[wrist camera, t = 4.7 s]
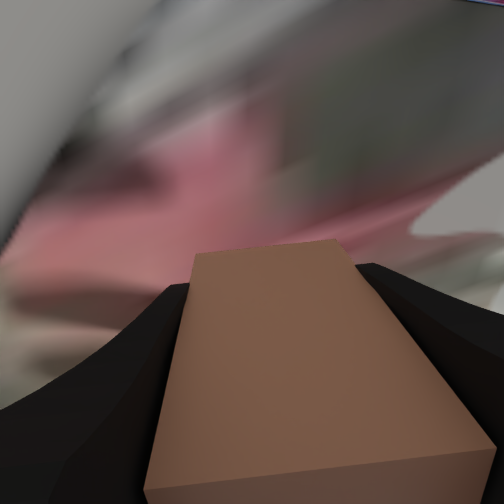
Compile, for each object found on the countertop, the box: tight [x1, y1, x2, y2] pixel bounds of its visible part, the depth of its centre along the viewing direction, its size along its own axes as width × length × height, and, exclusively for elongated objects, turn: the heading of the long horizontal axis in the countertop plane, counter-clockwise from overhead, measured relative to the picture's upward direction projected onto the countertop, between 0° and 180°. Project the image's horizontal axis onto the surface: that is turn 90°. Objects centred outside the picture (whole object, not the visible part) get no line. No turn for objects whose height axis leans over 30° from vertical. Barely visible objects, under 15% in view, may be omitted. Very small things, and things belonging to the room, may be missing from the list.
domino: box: [143, 239, 497, 504], centre depth 9 cm, size 2×5×8 cm, turn 95°
